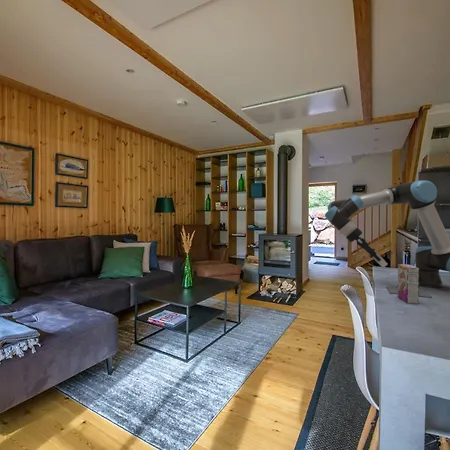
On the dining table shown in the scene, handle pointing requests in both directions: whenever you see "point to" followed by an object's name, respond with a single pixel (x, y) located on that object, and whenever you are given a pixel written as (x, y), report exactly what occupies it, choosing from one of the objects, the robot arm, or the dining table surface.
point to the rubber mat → (395, 291)
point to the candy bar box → (408, 283)
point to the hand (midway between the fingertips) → (384, 264)
